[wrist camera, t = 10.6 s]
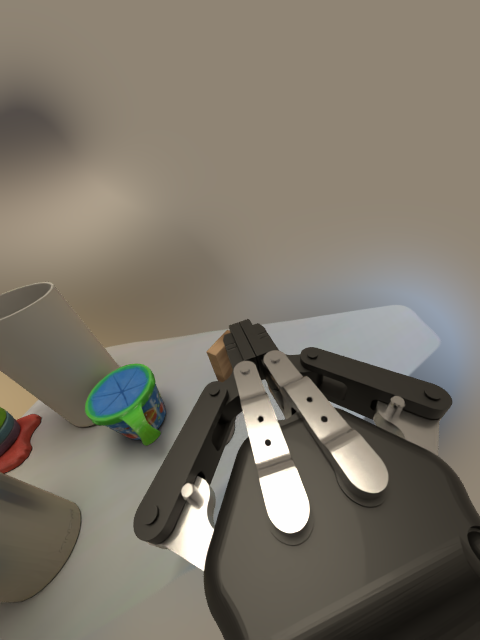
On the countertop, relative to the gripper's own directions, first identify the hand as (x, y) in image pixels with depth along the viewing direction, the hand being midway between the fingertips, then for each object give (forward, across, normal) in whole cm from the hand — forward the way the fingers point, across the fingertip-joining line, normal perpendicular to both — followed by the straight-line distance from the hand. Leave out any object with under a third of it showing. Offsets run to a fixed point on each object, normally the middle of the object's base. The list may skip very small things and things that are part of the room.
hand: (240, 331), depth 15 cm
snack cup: (+15, +19, +26) cm, 36 cm away
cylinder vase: (+24, +29, +26) cm, 46 cm away
